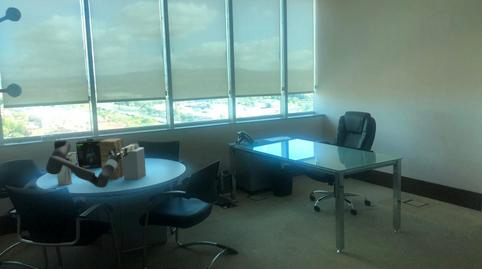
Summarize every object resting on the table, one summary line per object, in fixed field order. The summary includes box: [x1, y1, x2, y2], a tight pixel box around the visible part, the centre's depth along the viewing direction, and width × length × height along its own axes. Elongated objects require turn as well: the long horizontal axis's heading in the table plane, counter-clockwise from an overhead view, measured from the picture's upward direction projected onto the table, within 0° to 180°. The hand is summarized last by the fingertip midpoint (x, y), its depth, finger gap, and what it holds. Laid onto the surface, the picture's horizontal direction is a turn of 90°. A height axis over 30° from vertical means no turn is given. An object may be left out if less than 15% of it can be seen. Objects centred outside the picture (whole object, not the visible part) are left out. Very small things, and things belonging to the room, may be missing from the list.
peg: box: [120, 143, 140, 154], centre depth 294 cm, size 22×5×4 cm, turn 170°
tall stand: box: [100, 138, 124, 180], centre depth 304 cm, size 14×12×30 cm
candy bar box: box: [67, 151, 78, 173], centre depth 329 cm, size 11×5×16 cm, turn 129°
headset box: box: [75, 138, 105, 169], centre depth 344 cm, size 22×12×26 cm, turn 101°
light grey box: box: [122, 147, 147, 180], centre depth 302 cm, size 14×12×23 cm
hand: (120, 148), depth 280 cm, fingers open, 8 cm apart
